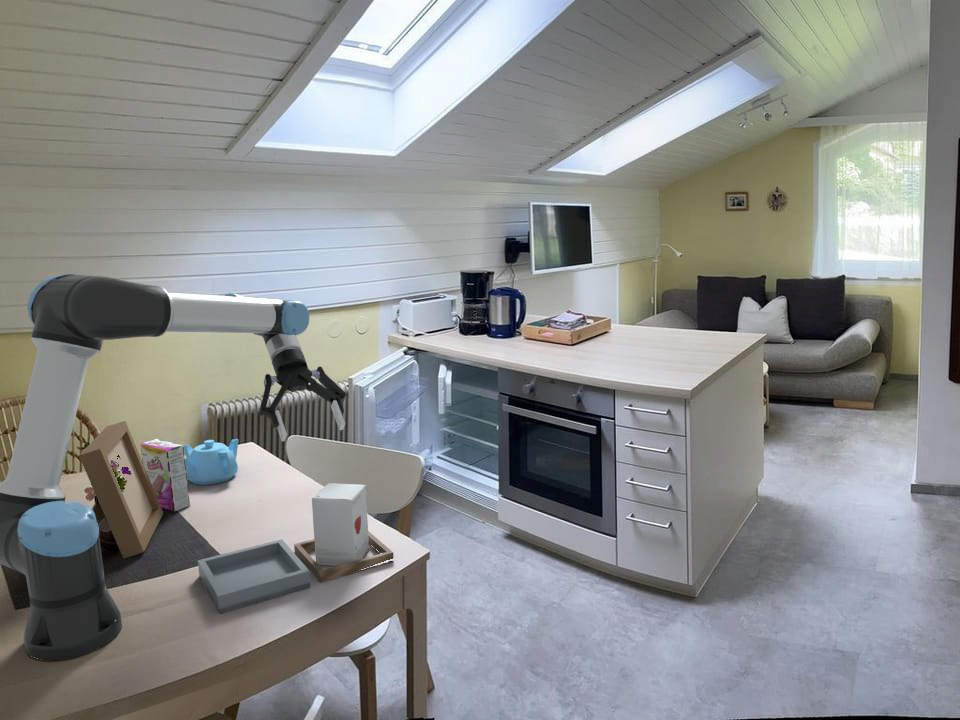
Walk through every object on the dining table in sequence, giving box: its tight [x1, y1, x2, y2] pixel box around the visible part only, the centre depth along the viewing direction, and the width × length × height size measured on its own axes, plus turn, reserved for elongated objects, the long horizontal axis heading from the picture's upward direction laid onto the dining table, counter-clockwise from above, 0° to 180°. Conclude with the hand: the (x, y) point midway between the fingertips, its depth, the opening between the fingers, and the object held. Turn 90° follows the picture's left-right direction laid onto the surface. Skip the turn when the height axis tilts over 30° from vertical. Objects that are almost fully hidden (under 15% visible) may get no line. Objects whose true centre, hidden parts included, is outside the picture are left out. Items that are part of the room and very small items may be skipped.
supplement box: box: [311, 482, 370, 567], centre depth 159 cm, size 9×9×15 cm
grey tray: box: [197, 539, 311, 614], centre depth 151 cm, size 17×17×4 cm
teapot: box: [182, 438, 239, 486], centre depth 210 cm, size 15×15×11 cm
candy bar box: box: [139, 438, 191, 513], centre depth 190 cm, size 11×5×16 cm, turn 58°
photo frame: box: [78, 420, 164, 559], centre depth 170 cm, size 15×22×25 cm
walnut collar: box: [293, 530, 395, 583], centre depth 161 cm, size 16×16×2 cm
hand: (314, 432), depth 170 cm, fingers open, 13 cm apart
